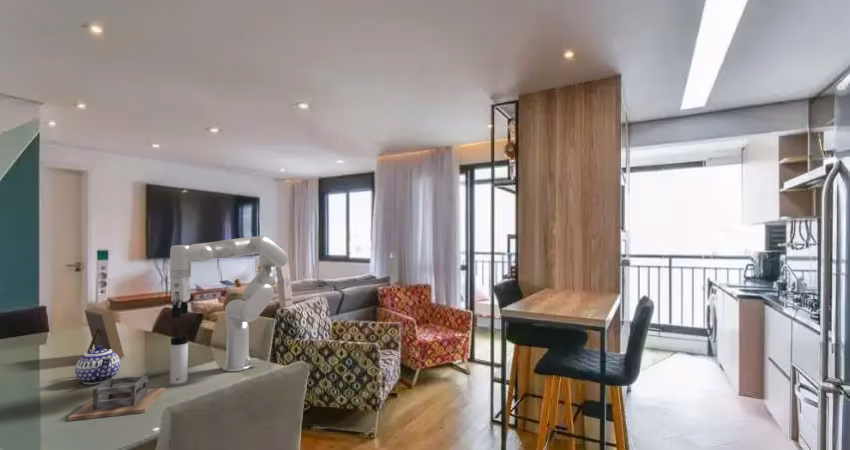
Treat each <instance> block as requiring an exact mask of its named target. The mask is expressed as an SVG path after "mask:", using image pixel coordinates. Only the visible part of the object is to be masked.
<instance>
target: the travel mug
mask: <svg viewBox="0 0 850 450" xmlns="http://www.w3.org/2000/svg"><path fill="white" fill-rule="evenodd" d="M169 361H170V362H169V363H170V364H169V365H170V367H169V370H170V371H169V385H170V386H171V387H180V386H184V385H186V384H187V383H188V380H189V379H188V377H189V376H188V375H189V372H188V371H189V368H188V367H189V364H188V363H189V362H188V361H189V335H188V334H184V335H177V336H175V337H171V338H170V360H169Z"/></svg>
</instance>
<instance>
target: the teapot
mask: <svg viewBox="0 0 850 450" xmlns="http://www.w3.org/2000/svg"><path fill="white" fill-rule="evenodd" d="M101 348H102V346H101V345H98V346H95V347H94V346H93V348H92V349H89V350H88V349H87V351H88V352H87V351H86V352H85V353H84V354H83V355H82V356H81V357H80V358H79V359H78V361H77V362H76V364H75V370H74V372H75V377H76V379H77V380H78V381H80V382H82V383H83V384H84V385H95V384H102V383H104V382H105V381H106V380H108V379H109V378H114V376H116V375H117V374H118V373H119V371H120V367H121V360H120V359H121V358H119V356H118V355H117V354H116V353H114V352H113V351H112V350H111V349H101Z"/></svg>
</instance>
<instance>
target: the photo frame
mask: <svg viewBox="0 0 850 450" xmlns="http://www.w3.org/2000/svg"><path fill="white" fill-rule="evenodd" d="M84 314H85V317H86V321H87V324H88V329H89V332H90V335H91V341H90V343H89V346H88V348H87V351H86V352H88V350H89V349H94V347H95V346H98V345H101V346H102V348H101V349H111V350H112V351H113V352H114V353H116V354H117V355H118V356H119V359H121V358H123V357H125V355H124V352H123V346H122V343H121V339H120V337H119V335H120V334H119V332H118V328H117V325H116V321H115V316H114V313H113V310H111V309H107V308H100V307H96V306H93V307H90V308H87V309H84Z"/></svg>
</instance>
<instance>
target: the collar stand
mask: <svg viewBox="0 0 850 450" xmlns="http://www.w3.org/2000/svg"><path fill="white" fill-rule="evenodd" d="M148 376H149V375H148V374H145V375H134V376H133V375H132V376H124V377H123V376H122V377H113V378H109V379H108V380H106V381H105V382H101V383H100V384H98V386H97V387H95V388H94V389H92V399H91V400H89V401H88V402H87V403H85V404H84V405H82V407H80V408H79V409H77V410H76V411H74V413H72V414H70V415H69V416H68V417H67V421H68V422H72V421H81V420H88V419H89V420H91V419H97V418H98V419H99V418H108V417H118V416H125V415H135V414H143V413H146V412H147V411H148V410H149V409H150V408H151V407H152V406H153V405H154V403H156V402H157V400H158V399H159V398H160V397H161V396H162V395H163V394H164V393H165V392H166V389H167V388H166V387H156V388H148ZM131 383H132V384H131ZM121 384H122V385H121ZM123 384H131V385H123ZM114 385H120V386H114Z"/></svg>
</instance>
